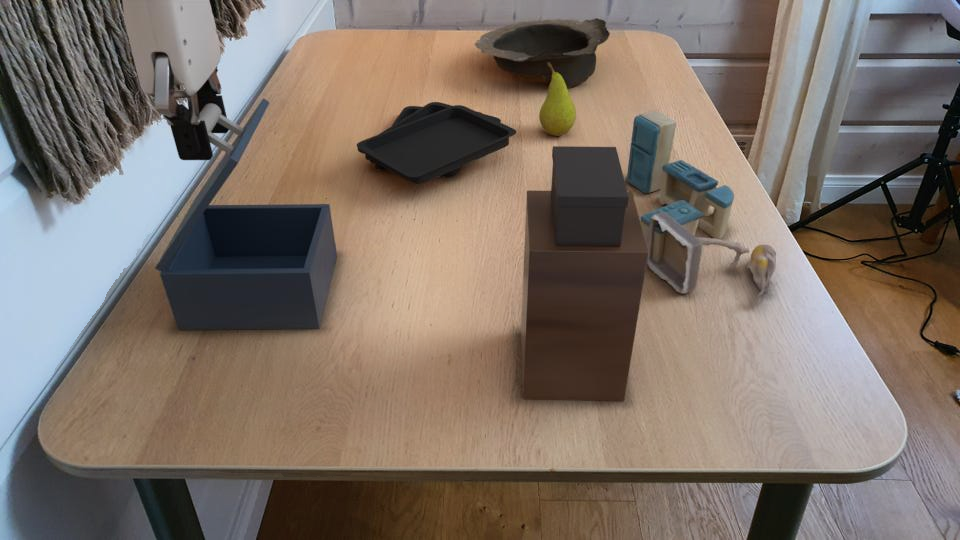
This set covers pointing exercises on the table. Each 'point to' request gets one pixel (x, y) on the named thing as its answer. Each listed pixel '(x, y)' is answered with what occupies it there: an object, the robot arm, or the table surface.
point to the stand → (578, 308)
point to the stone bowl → (547, 48)
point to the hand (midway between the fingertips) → (205, 143)
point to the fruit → (557, 107)
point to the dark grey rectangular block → (588, 196)
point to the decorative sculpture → (686, 255)
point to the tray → (435, 141)
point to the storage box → (253, 268)
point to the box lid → (219, 175)
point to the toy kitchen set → (674, 182)
